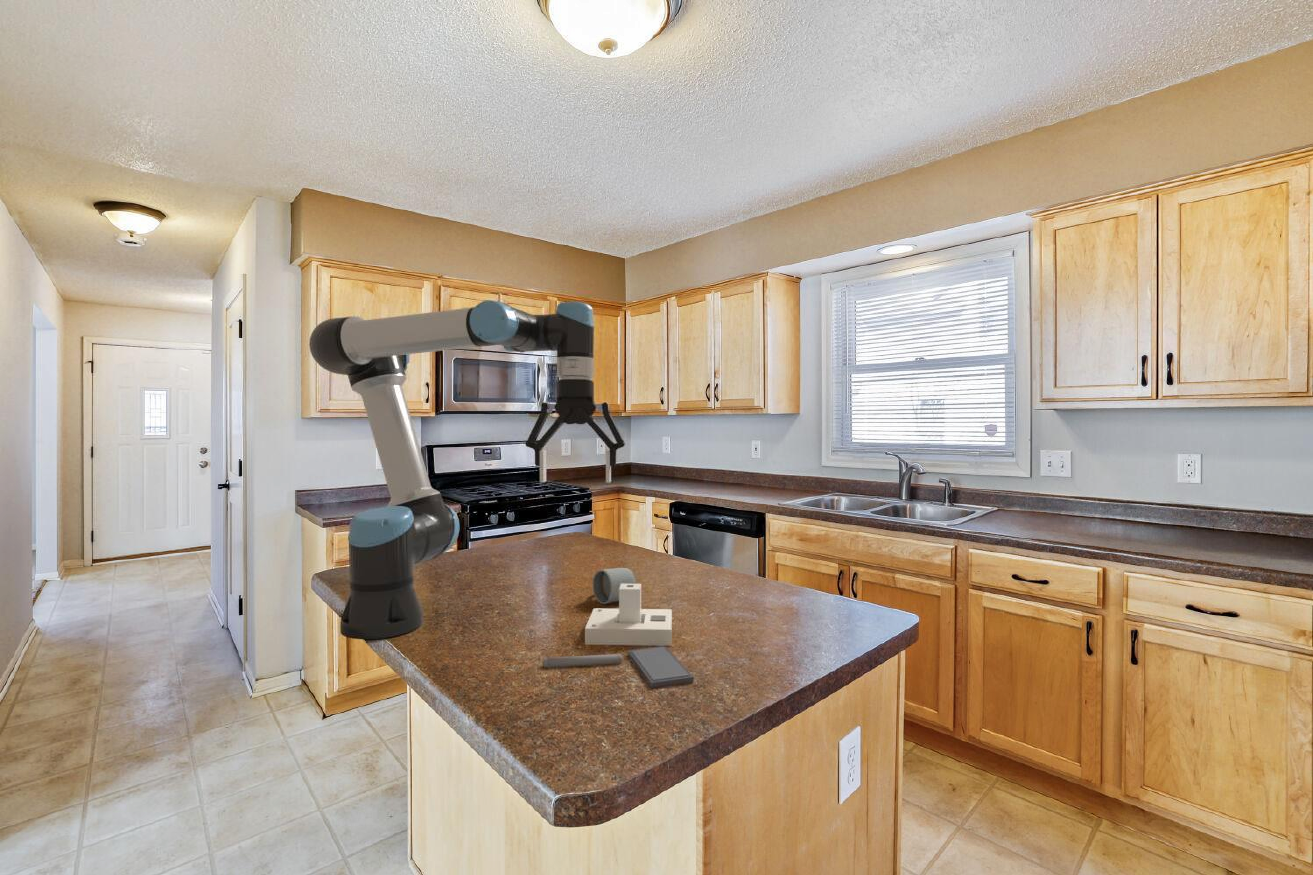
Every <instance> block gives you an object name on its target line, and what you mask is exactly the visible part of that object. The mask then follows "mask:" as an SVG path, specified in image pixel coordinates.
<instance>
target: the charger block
mask: <svg viewBox="0 0 1313 875" xmlns="http://www.w3.org/2000/svg"><path fill="white" fill-rule="evenodd" d="M618 609H619V623H641V609H642V583H637V584H621V585H620V588H619V601H618Z"/></svg>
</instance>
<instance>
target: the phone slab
mask: <svg viewBox="0 0 1313 875" xmlns="http://www.w3.org/2000/svg"><path fill="white" fill-rule="evenodd" d="M627 656H628V657H629V659H631V661H632V663H633V664H634V665H635V667H636V668H637V670H638V671H639V672H640V674H641V675H642V677H643V678H644V680H645V681H646V682H647V684H648V685H649V687H650V688H651V689H654V688H662V687H666V686H667V687H668V686H675V685H682V684H689V683H694V680H695V678H694V676H693V674H691V672H690V671H689V670H688V669H687V667H685V666H684V665H683V663H681V662H680V660H679V659H678V658H677V657H676V656H675V654H673V653H672V652H671V651H670V650H669V648H668V646H654V647H645V648H636V649H628V650H627Z"/></svg>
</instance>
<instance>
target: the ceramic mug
mask: <svg viewBox="0 0 1313 875" xmlns="http://www.w3.org/2000/svg"><path fill="white" fill-rule="evenodd" d="M621 584H638V581H637V576H636V574H635V573H634V572H633V570H631V569H630V568H628V567H627V568H626V567H616V568H603V569H598V570H597V571H596V572H595V574H594V576H593V578H592V592H593V595H594V597H595V600H596V601H597V602H598V603H600V605H601V604H602V605H607V604H611V603H615V602H619V588H620V585H621Z"/></svg>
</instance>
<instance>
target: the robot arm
mask: <svg viewBox="0 0 1313 875" xmlns="http://www.w3.org/2000/svg"><path fill="white" fill-rule="evenodd" d="M594 335H595V323H594V309H593V307H592V306H591V305H590V304H588V303H585V302H581V301H580V302H579V301H565V302H559V303H558V304H557V306H556V311H555V313H551V314H531V313H529V312H525V311H523V310H521V309H517V308H515V307H513V306H510V305H508V304H507V303H505V302H502V301H499V300H492V299H491V300H489V299H487V300H486V299H485V300H483V301H481V302H479V303H478V304H476V305H475V306H473V307H464V308H457V309H456V308H455V309H447V310H442V311H433V312H432V311H431V312H423V313H422V312H421V313H414V314H405V315H400V316H399V315H398V316H389V317H381V318H380V317H379V318H373V319H364V318H362V317H360V316H356V315H354V316H347V317H345V316H344V317H334V318H333V317H332V318H329V319H326V320H324V321H321V322H320V323H319V324H317V326H316V327H314V328H313V330H312V331H311V334H310V337H309V344H308V345H309V351H310V354H311V356H312V358H313V359H314V361H315V362H316V363H317V364H318V366H320V367H321V368H322V369H324V370H326V371H328V372H330V373H332V374H337V375H344V376H347V378H348V381H349V385H350V388H351V391H353V392H355V393H357V394H359V395H360V396H361V399H362V403H363V406H364V410H365V412H366V416H367V419H368V422H369V426H370V430H371V433H372V437H373V441H374V443H375V444H374V445H375V447H376V450H377V454H378V457H379V462H380V465H381V468H382V471H383V475H384V478H385V481H386V484H387V485H386V486H387V488H388V491H389V495H390V501H389V502H388V504H387V506H386V505H385V506H381V507H378V508H375V507H374V508H370V509H367V510H364V511H361V512H359V513H357V514H355V515H354V516H353V517H352V518H351V520H350V522H349V530H348V531H349V532H348V536H347V538H348V539H347V540H348V557H349V558H348V560H349V562H348V564H349V594H348V596H347V600H346V602H345V603H346V604H345V606H344V609H343V612H342V615H341V617H340V622H339V623H340V634H341V635H342V636H343V637H344V638H349V639H353V640H376V639H377V640H378V639H386V638H392V637H396V636H400V635H404V634H407V633H410V632H413V631H415V630H417V629H418V628H420V627H421V626H422V625H423V622H424V611H423V607H422V604H421V602H420V599H419V597H418V596H419V595H418V594H417V592H416V588H415V585H414V565H416V564H419V563H422V562H424V561H428V560H429V559H435V558H438V557H439V556H441V555H442V554H443V553H446V552H447V551H449V550H450V549H451V548H452V547H453V546H454V545H455V543H456V541H457V539H458V537H459V532H460V520H459V517H458V514H457V513H456V511H455V510H454V508H452V507H450V506H449V504H446V503H444V501H443V497H442V494H441V492H440V491H438V490H437V489H434V488H433V487H432V485H431V482H430V478H429V475H428V472H427V469H426V466H425V465H426V464H425V462H424V458H423V454H422V452H421V448H420V444H419V440H418V436H417V434H416V431H415V428H414V423H413V420H412V417H411V413H410V410H409V407H408V403H407V400H406V396H405V394H404V389H403V385H404V384H405V382H406V380H407V374H406V371H407V369H408V364H409V363H410V359H411V358H410V355H414V354H422V353H433V352H440V351H441V352H442V351H451V350H460V349H469V348H479V347H490V346H491V347H492V346H503V349H504V350H505V351H508V352H514V353H521V354H522V353H526V352H542V351H543V352H548V351H551V352H556V377H557V378H559V379H558V380H557V381H556V402H555V403H549V402H545V401H544V402H542V403H541V405H540V413H539V416H538V417H537V419H536V421H535V424H534V425H533V428H532V430H531V431H530V434H529V435H528V437H527V439H526V442H525V446H526V447H527V448H530V449H533V450H534V465H535V466H536V467H539V483H545V482H547V450H546V449H544V447H545V446H546V445H547V443H548V442H549V441H550V440H551V439H552V437H553V436H554V435H555V434H556V433H557V432H558V430H559V429H560V428H561V427H562V426H563V425H564V424H565V425H566V424H567V425H575V424H576V425H585V424H588V426H590V428H591V429H592V430H593V431H594V432H595V434H596V435H597V436H598V437H599V438H600V439H601V441H602V442H603V443H604V444H605V445H606V447H607V448H608V450H605V483H607V484H610V483H611V482H612V467H615V466H616V465H617V450H619V449H622V448H624V447H625V446H626V443H625V440H624V439H623V436H622V435H621V433H620V430H619V429H618V426H617V425H616V423H615V420H614V418H613V416H612V414H611V410H610V409H611V408H610V404H609V403H608V402H603V403H597V404H596V402H595V397H594V396H595V395H594V394H595V385H594V384H595V382H594V381H593V380H592V378H594V376H595V370H594V369H595V368H594V367H595V365H594V364H595V358H594V357H595V355H594V351H595V350H594V345H595V344H594V343H595V341H594V338H595V336H594ZM554 410H555V412H556V414H558V416H557V418H556V419H555V421H554V422H553V423H552V425H551V426H549V428H548V429H547V431H545V433H544V434H543V435H542V436H541V438H540V439H539V440H538V441H537V439H538V438H539V436H540V434H541V432H542V430H543V428H544V425H545V423H546V421H547V419H548V417H549V415H550V414H552V413H553V411H554ZM596 410H598V412H599V413H600V415H601V414H602V415H603V418H604V419H605V422H606V423H607V426H608V428H609V430H610V432H611V433H612V436H613V438H614V439H615V442H616V443H614V441H613V440H612V439H611V437H609V436H608V434H607V433H606V432H605V431H604V429H603V428H602V427H601V426H600V425H599V424H598V422H597V421H596V420H595V418H594V417H593V414H594V413H595V412H596Z"/></svg>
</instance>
